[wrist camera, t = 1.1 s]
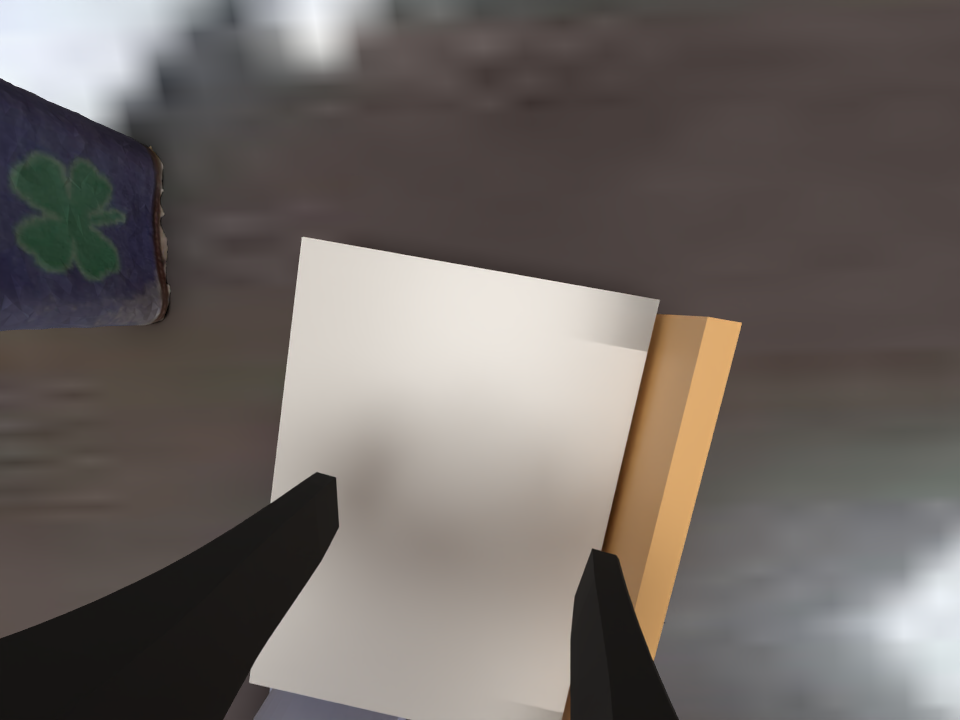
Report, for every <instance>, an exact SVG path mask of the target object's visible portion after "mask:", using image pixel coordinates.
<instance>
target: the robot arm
mask: <svg viewBox="0 0 960 720" xmlns="http://www.w3.org/2000/svg"><path fill="white" fill-rule="evenodd" d="M338 528H339V515H338V499H337V483H336V477H333V476H330V475H326V474H322V473H319V472H316V473H314V474H312V475H311V476H310V477H308V478H307V479H305V480H304V481H302V482H301V483H299V484H298V485H296V486H295V487H294V488H292V489H291V490H289V491H288V492H286V493H285V494H284V495H282V496H281V497H279V498H278V499H276V500H275V501H273V502H272V503H270V504H269V505H267V506H266V507H264V508H263V509H261V510H260V511H258V512H257V513H255V514H254V515H252V516H251V517H249V518H248V519H246V520H245V521H243V522H242V523H240V524H239V525H237V526H236V527H234V528H232V529H231V530H229V531H227V532H226V533H224V534H223V535H221V536H219V537H218V538H216V539H214V540H213V541H211V542H209V543H208V544H206V545H204V546H203V547H201V548H199V549H198V550H196V551H194V552H192V553H191V554H189V555H187V556H185V557H183V558H182V559H180V560H178V561H176V562H174V563H172V564H171V565H169V566H167V567H165V568H163V569H161V570H159V571H157V572H155V573H153V574H151V575H149V576H147V577H145V578H143V579H141V580H139V581H137V582H135V583H133V584H131V585H129V586H127V587H124V588H122V589H120V590H118V591H116V592H114V593H112V594H109V595H107V596H105V597H103V598H101V599H99V600H96V601H94V602H92V603H89V604H87V605H85V606H82V607H80V608H78V609H75V610H73V611H70V612H68V613H66V614H63V615H61V616H58V617H56V618H53V619H51V620H48V621H46V622H43V623H41V624H38V625H36V626H33V627H31V628H28V629H25V630H23V631H20V632H17V633H14V634H12V635H9V636H6V637H3V638H0V720H223V719H224V717H225V715H226V713H227V711H228V709H229V707H230V706H231V704H232V702H233V700H234V698H235V696H236V695H237V693H238V691H239V689H240V687H241V686H242V684H243V682H244V680H245V679H246V677H247V675H248V673H249V671H250V670H251V668H252V666H253V664H254V663H255V661H256V659H257V657H258V656H259V654H260V652H261V651H262V649H263V648H264V646H265V645H266V643H267V641H268V640H269V638H270V637H271V635H272V634H273V632H274V631H275V629H276V628H277V626H278V625H279V623H280V622H281V621H282V619H283V618H284V616H285V615H286V613H287V612H288V610H289V609H290V607H291V606H292V604H293V603H294V601H295V600H296V598H297V597H298V595H299V594H300V593H301V591H302V590H303V588H304V587H305V585H306V584H307V582H308V581H309V579H310V578H311V576H312V575H313V573H314V572H315V570H316V569H317V567H318V566H319V564H320V563H321V561H322V559H323V557H324V555H325V554H326V552H327V550H328V548H329V546H330V544H331V542H332V540H333V538H334V536H335V534H336V532H337V530H338ZM253 720H406V718H401V717H397V716H392V715H388V714H384V713H379V712H375V711H371V710H366V709H362V708H357V707H353V706H349V705H344V704H340V703H335V702H331V701H327V700H322V699H318V698H314V697H309V696H305V695H300V694H296V693H292V692H287V691H283V690H278V689H274V688H270V692H269V695H268V696H267V698H266V699H265V701H264V703H263V704H262V706H261V707H260V709H259V711H258V712H257V714H256V716H255V717H254V719H253ZM570 720H679V719H678V717H677V715H676V712H675V710H674V708H673V706H672V704H671V701H670V699H669V697H668V694H667V692H666V690H665V688H664V685H663V683H662V681H661V678H660V676H659V674H658V671H657V669H656V666H655V664H654V661H653V659H652V656H651V654H650V651H649V648H648V646H647V643H646V641H645V638H644V635H643V633H642V630H641V627H640V625H639V622H638V619H637V616H636V613H635V610H634V607H633V604H632V601H631V598H630V595H629V592H628V589H627V586H626V582H625V579H624V575H623V572H622V568H621V564H620V560H619V558H618V557H617V555H614V554H611V553H607V552H604V551H600V550H596V549H593V548H592V550H591V553H590V555H589V558H588V561H587V564H586V566H585V569H584V572H583V575H582V577H581V580H580V583H579V585H578V588H577V591H576V594H575V596H574V606H573V616H572V626H571V637H570Z"/></svg>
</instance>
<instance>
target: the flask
mask: <svg viewBox="0 0 960 720" xmlns="http://www.w3.org/2000/svg"><path fill="white" fill-rule="evenodd" d="M162 170H163V164H162V162H161V161H160V159H159V157H158V156H157V155H156V153H155V152H154V151H153V150H152V147H151V146H150V147H147V146H145V145H143V144H141V143H139V142H137V141H136V140H134V139H133V138H131V137H128V136H126V135H124V134H122V133H119V132H117V131H115V130H112V129H110V128H108V127H106V126H104V125H101V124H99V123H96V122H94V121H92V120H90V119H88V118H86V117H84V116H82V115H80V114H79V113H77V112H73V111H71V110H69V109H66V108H64V107H61V106H59V105H57V104H54V103H52V102H49V101H47V100H45V99H43V98H41V97H39V96H37V95H35V94H34V93H31V92H29V91H27V90H24V89H22V88H19V87H16V86H14V85H12V84H11V83H9V82H6V81H4V80H3V79H1V78H0V331H5V330H18V329H48V328H71V327H79V328H91V327H99V326H126V325H149V324H152V323H155V322H157V321H161V320H163V319H164V315H165V313H166V311H167V310H166V309H167V307H168V304H169V296H170V295H169V294H170V285H169V284H168V285H167V284H166V269H165V267H166V265H167V264H166V260H167V249H168V246H167V244H166V242H167V238H166V237H165V234H163V230H162V228H161V226H160V219H161V217H162V216H163V215H165V213H164V212H163V209H162V207H161V205H160V197H161V194H162V192H163V191H164V190H163V189H162V187H163V186H162V182H161V181H162Z"/></svg>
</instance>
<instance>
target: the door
mask: <svg viewBox="0 0 960 720" xmlns="http://www.w3.org/2000/svg"><path fill="white" fill-rule="evenodd" d="M741 325H742V323H739V322H734V321H728V320H722V319H717V318H711V317H700V316H682V315H664V314H656V318H655V322H654V327H653V331H652V335H651V340H650V344H649V348H648V352H647V357H646V361H645V365H644V370H643V374H642V378H641V382H640V387H639V391H638V395H637V400H636V404H635V408H634V412H633V417H632V421H631V425H630V430H629V434H628V438H627V442H626V447H625V451H624V455H623V460H622V464H621V468H620V472H619V477H618V481H617V485H616V490H615V494H614V498H613V502H612V507H611V511H610V515H609V520H608V524H607V528H606V532H605V537H604V541H603V545H602V550H601V551H604V552H607V553H611V554H614V555H617V557H618V558H619V560H620V564H621V568H622V572H623V575H624V579H625V582H626V586H627V589H628V592H629V595H630V598H631V601H632V604H633V607H634V610H635V613H636V616H637V619H638V622H639V625H640V627H641V630H642V633H643V635H644V638H645V641H646V643H647V646H648V648H649V651H650V654H651V656H652V659H653V661H654V658H655V654H656V650H657V646H658V643H659V639H660V635H661V631H662V627H663V623H664V620H665V616H666V612H667V608H668V604H669V600H670V597H671V593H672V589H673V585H674V581H675V577H676V574H677V570H678V566H679V562H680V558H681V554H682V551H683V547H684V543H685V539H686V535H687V531H688V528H689V524H690V520H691V516H692V512H693V508H694V505H695V501H696V497H697V493H698V489H699V486H700V482H701V478H702V474H703V470H704V466H705V463H706V459H707V455H708V451H709V447H710V443H711V440H712V436H713V432H714V428H715V424H716V420H717V417H718V413H719V409H720V405H721V401H722V397H723V394H724V390H725V386H726V382H727V378H728V374H729V371H730V367H731V363H732V359H733V355H734V351H735V348H736V344H737V340H738V336H739V332H740V329H741ZM562 720H570V687H569V691H568V695H567V699H566V704H565V708H564V712H563V717H562Z"/></svg>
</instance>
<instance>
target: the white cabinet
mask: <svg viewBox="0 0 960 720" xmlns="http://www.w3.org/2000/svg"><path fill="white" fill-rule="evenodd" d="M659 301H660V300H657V299H651V298H646V297H640V296H634V295H629V294H623V293H618V292H612V291H606V290H601V289H595V288H589V287H584V286H578V285H572V284H567V283H561V282H555V281H550V280H544V279H538V278H533V277H527V276H521V275H516V274H510V273H504V272H499V271H493V270H487V269H482V268H476V267H470V266H465V265H459V264H453V263H448V262H442V261H436V260H431V259H425V258H420V257H414V256H408V255H403V254H397V253H391V252H386V251H380V250H374V249H369V248H363V247H357V246H352V245H346V244H340V243H335V242H329V241H323V240H318V239H312V238H306V237H302V242H301V250H300V259H299V267H298V276H297V284H296V292H295V301H294V309H293V318H292V326H291V335H290V343H289V352H288V360H287V368H286V377H285V385H284V394H283V402H282V411H281V419H280V427H279V436H278V444H277V453H276V461H275V470H274V478H273V486H272V495H271V503H272V502H273V501H275V500H276V499H278V498H279V497H281V496H282V495H284V494H285V493H286V492H288V491H289V490H291V489H292V488H294V487H295V486H296V485H298V484H299V483H301V482H302V481H304V480H305V479H307V478H308V477H310V476H311V475H312V474H314V473H316V472H319V473H322V474H326V475H330V476H333V477H336V483H337V499H338V515H339V528H338V530H337V532H336V534H335V536H334V538H333V540H332V542H331V544H330V546H329V548H328V550H327V552H326V554H325V555H324V557H323V559H322V561H321V563H320V564H319V566H318V567H317V569H316V570H315V572H314V573H313V575H312V576H311V578H310V579H309V581H308V582H307V584H306V585H305V587H304V588H303V590H302V591H301V593H300V594H299V595H298V597H297V598H296V600H295V601H294V603H293V604H292V606H291V607H290V609H289V610H288V612H287V613H286V615H285V616H284V618H283V619H282V621H281V622H280V623H279V625H278V626H277V628H276V629H275V631H274V632H273V634H272V635H271V637H270V638H269V640H268V641H267V643H266V645H265V646H264V648H263V649H262V651H261V652H260V654H259V656H258V657H257V659H256V661H255V663H254V664H253V666H252V668H251V672H250V680H249V683H252V684H257V685H261V686H265V687H270V688H274V689H278V690H283V691H287V692H292V693H296V694H300V695H305V696H309V697H314V698H318V699H322V700H327V701H331V702H335V703H340V704H344V705H349V706H353V707H357V708H362V709H366V710H371V711H375V712H379V713H384V714H388V715H392V716H397V717H401V718H406V719H410V720H562V717H563V712H564V708H565V704H566V699H567V695H568V691H569V687H570V637H571V626H572V616H573V606H574V596H575V594H576V591H577V588H578V585H579V583H580V580H581V577H582V575H583V572H584V569H585V566H586V564H587V561H588V558H589V555H590V553H591V550H592V548H593V549H596V550H600V551H601V550H602V545H603V541H604V537H605V532H606V528H607V524H608V520H609V515H610V511H611V507H612V502H613V498H614V494H615V490H616V485H617V481H618V477H619V472H620V468H621V464H622V460H623V455H624V451H625V447H626V442H627V438H628V434H629V430H630V425H631V421H632V417H633V412H634V408H635V404H636V400H637V395H638V391H639V387H640V382H641V378H642V374H643V370H644V365H645V361H646V357H647V352H648V348H649V344H650V340H651V335H652V331H653V327H654V322H655V318H656V314H657V310H658V305H659Z"/></svg>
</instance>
